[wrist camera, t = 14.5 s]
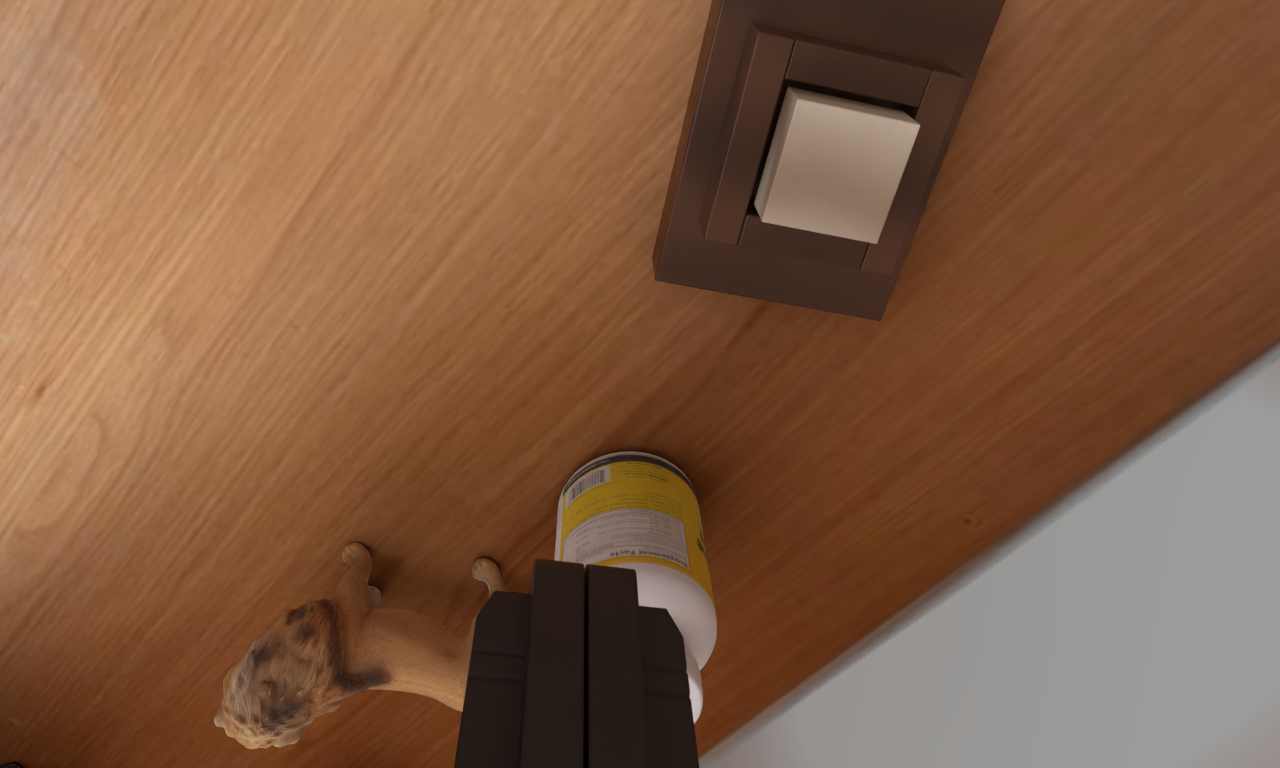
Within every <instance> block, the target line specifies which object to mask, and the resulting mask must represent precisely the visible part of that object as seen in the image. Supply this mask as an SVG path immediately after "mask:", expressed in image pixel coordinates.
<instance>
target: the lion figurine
mask: <svg viewBox="0 0 1280 768" xmlns="http://www.w3.org/2000/svg"><path fill="white" fill-rule="evenodd" d="M342 556H343V561H344V562H345V563H348V564H350V565H351V567H350V568H349V569H348V571H347V572H346V573H345V575H344V576H343V578H342V579H341V581H340V583H339V585H338V587H337V589H336V591H335V593H334V596H333V598H332V600H327V599H322V600H320V601H316V600H314V601H308V602H306V603H305V604H303V605H302V606H300V607H298V608H296V609H289V610H287V611H285V612H284V613H283V614H282V615H281V616H280V617H279V618H278V619H277V620H276V621H275V622H274V623H273V624H272V625H271V626H269V628H268V629H267V630H266V632H265V633H264V634H263V635H262V636H260V637H258V638H257V639H255V640H254V641H253V642H252V643H251V644H250V645H249V646H248V647H247V649H246V650H245V652H244V654H243V656H242V657H241V659H240V660H238V661H237V662H236V663H235V664H234V665H233V666H232V667H231V669H230V670H229V672H228V673H227V675H226V676H225V677H224V681H223V693H224V699H223V701H222V703H221V705H222V706H221V707H219V709H218V711H217V714H216V716H215V718H214V723H215V725H216V726H218V727H222V728H225V731H226V734H227V735H228V736H229V737H233V738H236V740H237V741H238V742H239V743H240V744H242V745H244V746H245V747H246V748H248V749H257V748H268V747H270V746H271V745H274V746H276V747H282V746H285V745H287V744H294V743H296V742H298V741H299V739H300V737H301V733H302V729H303V727H304V726H306V725H308V724H310V723H311V722H312V721H313V720H314V719H315V718H316V717H319V716H321V715H323V714H324V713H329V712H333V711H335V710H336V709H338V708H339V706H340V705H341V704H342V702H343V700H344V699H345V698H347V697H350V696H352V695H355V694H359V693H362V692H363V691H365V690H375V689H380V690H394V691H404V692H411V693H416V694H421V695H425V696H428V697H431V698H434V699H436V700H438V701H440V702H442V703H444V704H446V705H448V706H449V707H451V708H453V709H455V710H458V711H463V704H464V697H465V691H466V684H467V677H468V670H469V663H470V657H471V650H472V643H473V636H474V629H475V622H476V616H477V615H476V616H475V617H474V619H473V621H472V623H471V626H470V629H469V631H468V633H467V634H466V635H465V636H463V637H460V636H456V635H454V634H453V633H452V632H451V631H450V630H449V629H448V628H446V627H445V626H443V625H442V624H441V623H439V622H438V621H436V620H434V619H433V618H431V617H429V616H427V615H424V614H421V613H418V612H415V611H411V610H406V609H396V608H379V607H380V605H381V603H382V598H381V597H380V591H379V590H378V589H377V588H376V587H374V586H370V585H367V584H368V580H369V574H370V572H371V570H372V565H371V558H370V553H369V552H368V550H367V549H366V548H365V547H364V546H363V545H362V544H360V543H355V542H354V543H351V544H348V545H347V546H346V547H345V548H344V549H343V552H342ZM472 575H473V577H474V578H475V579H477V580H480V581H483V582H485V583H486V584H487V585H488V588H489V598H490V597H491V595H492V594H493V592H494V591H495V590H496V591H505V592H507V590H506V588H505V586H504V584H503V581H502V578H501V574H500V571H499V569H498V567H497V565H496V564H495V563H494V562H492V561H491V560H489V559H486V558H481V559H478V560H476V561H475V562H474V564H473V567H472ZM489 598H488V599H489ZM487 601H488V600H487ZM482 608H483V607H482ZM479 612H480V611H479ZM479 612H478V613H479ZM478 613H477V614H478Z"/></svg>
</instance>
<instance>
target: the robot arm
mask: <svg viewBox="0 0 1280 768" xmlns="http://www.w3.org/2000/svg"><path fill="white" fill-rule="evenodd" d="M454 768H699V762H698V754H697V746H696V738H695V729H694V721H693V713H692V704H691V699H690V688H689V679H688V674H687V663H686V654H685V646H684V638H683V635H682V634H681V632H680V630H679V629H678V627H677V625H676V624H675V622H674V620H673V619H672V617H671V615H670V614H669V612H668V610H667V609H665V608H656V607H647V606H639V602H638V587H637V575H636V571H635V569H628V568H619V567H610V566H602V565H593V564H587V565H586V567H585V570H584V564H582V563H573V562H564V561H556V560H547V559H538V558H535V560H534V565H533V570H532V575H531V581H530V586H529V592H528V594H524V593H515V592H505V591H496V590H495V591H494V592H493V594H492V595H491V597H490V598H489V599H488V601H487V602H486V603H485V605H484V606H483V608H482V609H481V610H480V612H479V613H478V614H477V616H476V622H475V629H474V636H473V643H472V650H471V657H470V663H469V670H468V677H467V684H466V691H465V697H464V704H463V711H462V718H461V725H460V732H459V738H458V745H457V752H456V759H455V766H454Z"/></svg>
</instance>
